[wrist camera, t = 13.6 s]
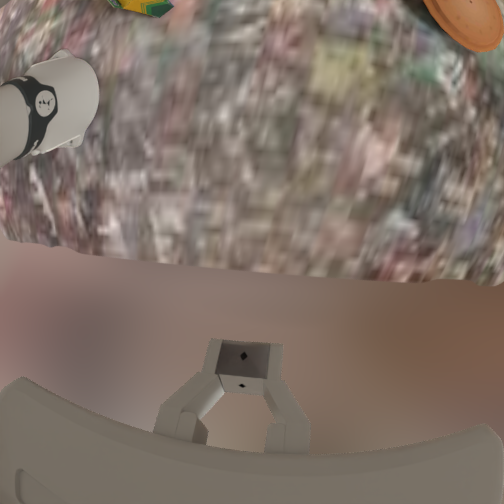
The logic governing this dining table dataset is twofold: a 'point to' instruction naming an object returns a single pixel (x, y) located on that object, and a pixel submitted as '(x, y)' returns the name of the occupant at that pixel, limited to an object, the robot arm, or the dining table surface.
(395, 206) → the dining table surface
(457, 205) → the dining table surface
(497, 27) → the pie
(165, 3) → the crayon box
